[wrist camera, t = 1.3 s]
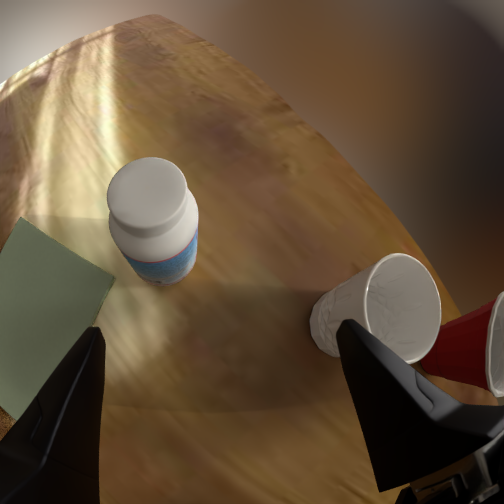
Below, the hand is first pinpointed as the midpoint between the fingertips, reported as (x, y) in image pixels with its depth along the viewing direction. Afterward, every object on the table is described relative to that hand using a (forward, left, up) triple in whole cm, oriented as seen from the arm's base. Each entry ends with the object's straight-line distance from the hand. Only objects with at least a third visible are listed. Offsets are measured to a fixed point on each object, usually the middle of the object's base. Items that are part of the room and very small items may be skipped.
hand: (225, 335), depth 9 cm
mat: (-8, +17, -15) cm, 24 cm away
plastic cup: (+7, -26, -15) cm, 31 cm away
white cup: (+6, -11, -15) cm, 20 cm away
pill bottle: (+5, +7, -15) cm, 17 cm away
